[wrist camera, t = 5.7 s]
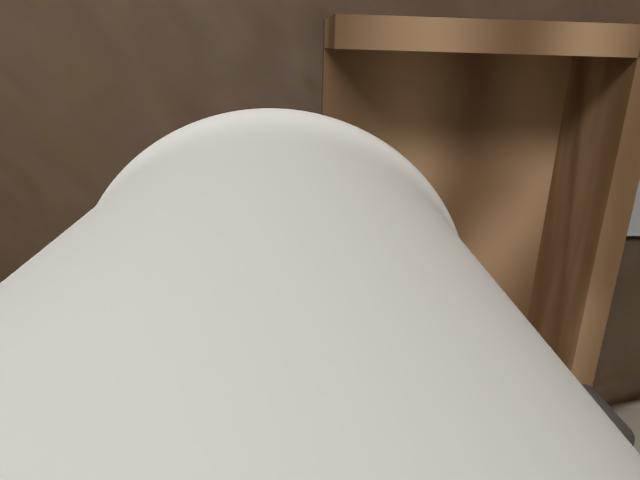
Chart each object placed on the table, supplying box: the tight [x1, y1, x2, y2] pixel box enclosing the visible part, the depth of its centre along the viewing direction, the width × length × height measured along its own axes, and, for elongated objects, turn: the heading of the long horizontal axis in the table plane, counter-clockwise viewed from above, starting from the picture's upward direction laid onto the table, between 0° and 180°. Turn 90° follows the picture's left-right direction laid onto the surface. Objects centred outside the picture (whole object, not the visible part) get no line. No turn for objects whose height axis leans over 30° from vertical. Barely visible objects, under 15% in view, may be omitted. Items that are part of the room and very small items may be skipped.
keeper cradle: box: [321, 14, 640, 446], centre depth 25 cm, size 13×18×9 cm
